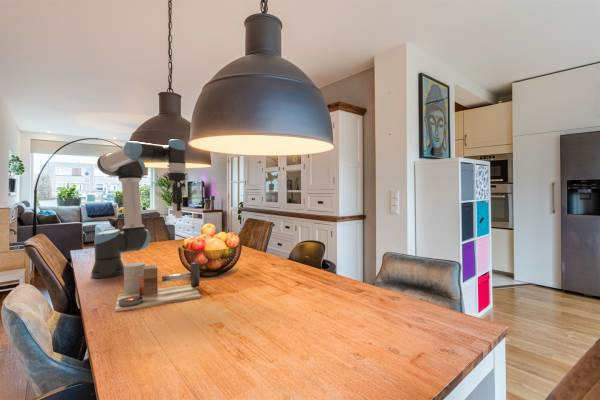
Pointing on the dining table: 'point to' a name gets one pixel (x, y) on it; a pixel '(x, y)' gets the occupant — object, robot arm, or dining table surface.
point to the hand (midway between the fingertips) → (177, 216)
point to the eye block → (158, 292)
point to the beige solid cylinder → (132, 276)
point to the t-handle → (186, 275)
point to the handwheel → (134, 299)
